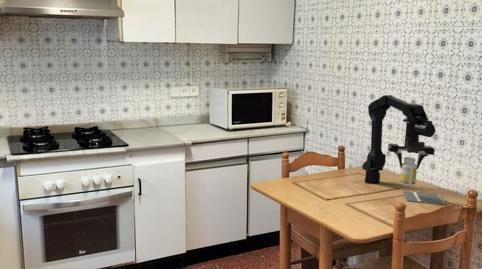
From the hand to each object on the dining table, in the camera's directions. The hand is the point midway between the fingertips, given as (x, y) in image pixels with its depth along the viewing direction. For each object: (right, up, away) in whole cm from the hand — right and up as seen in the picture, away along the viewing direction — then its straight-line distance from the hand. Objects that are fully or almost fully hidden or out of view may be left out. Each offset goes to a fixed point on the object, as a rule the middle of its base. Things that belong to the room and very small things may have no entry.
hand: (409, 168), depth 206 cm
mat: (+7, -13, +1) cm, 15 cm away
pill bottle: (0, -7, +1) cm, 7 cm away
